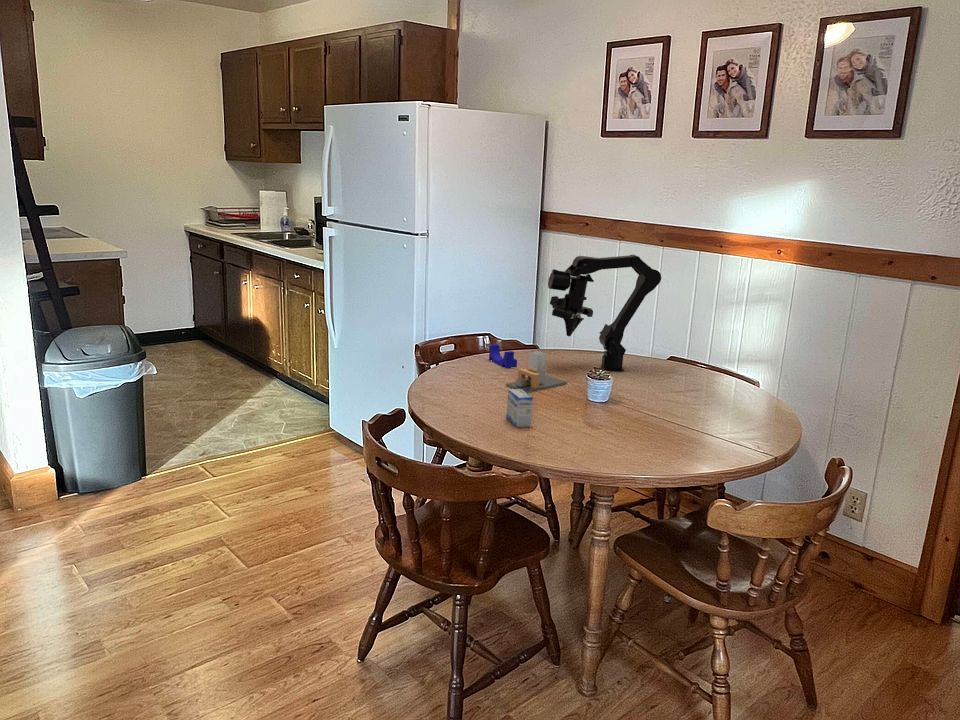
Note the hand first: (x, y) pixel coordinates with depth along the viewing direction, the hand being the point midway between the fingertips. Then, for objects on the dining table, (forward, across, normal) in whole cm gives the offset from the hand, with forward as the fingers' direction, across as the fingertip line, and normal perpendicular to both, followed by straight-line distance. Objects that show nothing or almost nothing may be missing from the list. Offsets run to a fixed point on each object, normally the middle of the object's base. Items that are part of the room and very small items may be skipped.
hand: (568, 336), depth 263 cm
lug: (+13, +27, +4) cm, 31 cm away
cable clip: (+15, +10, -19) cm, 26 cm away
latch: (+13, +27, +4) cm, 30 cm away
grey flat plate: (+14, +23, +5) cm, 28 cm away
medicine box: (+16, +57, +22) cm, 63 cm away
